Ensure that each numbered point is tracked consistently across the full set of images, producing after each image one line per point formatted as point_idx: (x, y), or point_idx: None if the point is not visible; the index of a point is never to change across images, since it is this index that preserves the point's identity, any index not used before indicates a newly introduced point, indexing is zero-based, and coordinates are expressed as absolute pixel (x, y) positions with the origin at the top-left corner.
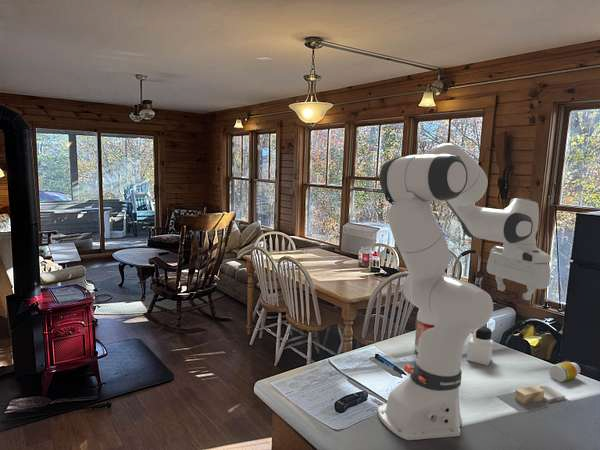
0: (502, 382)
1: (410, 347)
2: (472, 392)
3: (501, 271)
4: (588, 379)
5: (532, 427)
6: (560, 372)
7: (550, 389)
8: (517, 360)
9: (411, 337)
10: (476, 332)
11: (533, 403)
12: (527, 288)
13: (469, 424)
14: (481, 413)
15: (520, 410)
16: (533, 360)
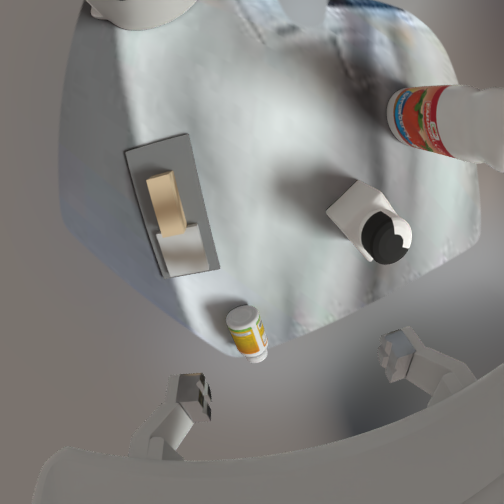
0: (250, 194)
1: None
2: (217, 95)
3: (454, 447)
4: (241, 356)
5: (93, 150)
6: (235, 321)
7: (193, 266)
8: (330, 290)
9: None
10: (387, 216)
11: None
12: (156, 441)
13: (115, 40)
14: (140, 74)
15: (133, 155)
16: (321, 319)
